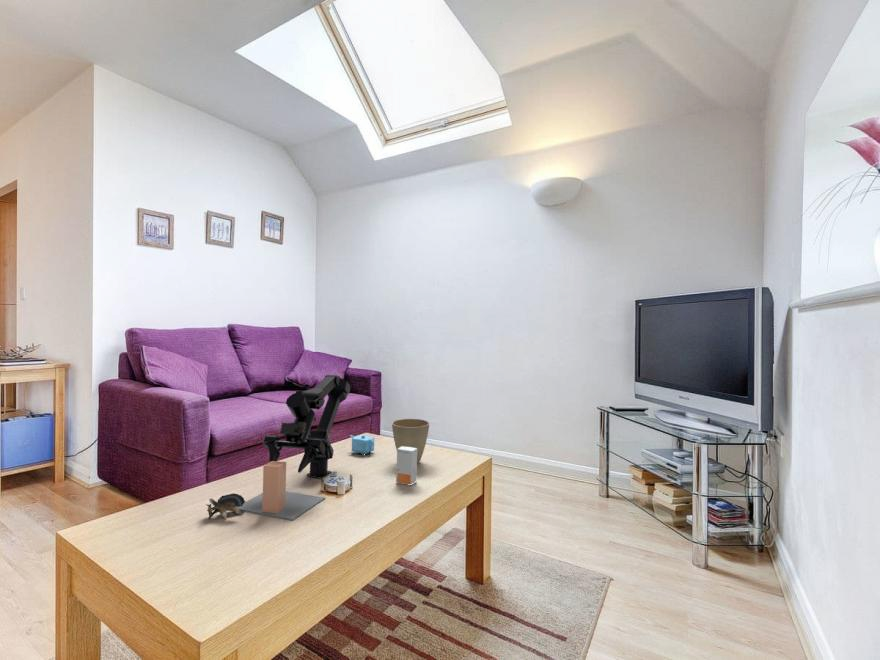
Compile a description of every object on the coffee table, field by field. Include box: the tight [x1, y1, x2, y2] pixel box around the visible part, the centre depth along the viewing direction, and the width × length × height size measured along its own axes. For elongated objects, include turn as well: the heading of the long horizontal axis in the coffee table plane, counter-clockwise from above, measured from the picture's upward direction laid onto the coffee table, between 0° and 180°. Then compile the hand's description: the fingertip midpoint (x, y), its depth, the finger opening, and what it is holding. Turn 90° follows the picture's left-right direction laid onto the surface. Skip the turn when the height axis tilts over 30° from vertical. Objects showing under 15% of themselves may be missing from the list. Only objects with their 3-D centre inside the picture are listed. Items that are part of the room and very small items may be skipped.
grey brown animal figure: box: [205, 493, 246, 521], centre depth 120 cm, size 8×7×9 cm
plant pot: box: [391, 418, 430, 463], centre depth 171 cm, size 15×15×16 cm
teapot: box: [349, 434, 375, 456], centre depth 183 cm, size 12×6×8 cm, turn 64°
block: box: [262, 460, 287, 513], centre depth 124 cm, size 4×4×13 cm
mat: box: [237, 490, 326, 521], centre depth 129 cm, size 16×20×1 cm
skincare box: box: [395, 446, 418, 485], centre depth 149 cm, size 6×4×12 cm
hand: (284, 470), depth 130 cm, fingers open, 9 cm apart
